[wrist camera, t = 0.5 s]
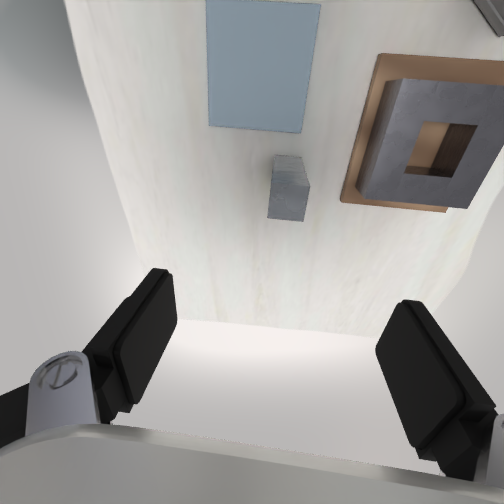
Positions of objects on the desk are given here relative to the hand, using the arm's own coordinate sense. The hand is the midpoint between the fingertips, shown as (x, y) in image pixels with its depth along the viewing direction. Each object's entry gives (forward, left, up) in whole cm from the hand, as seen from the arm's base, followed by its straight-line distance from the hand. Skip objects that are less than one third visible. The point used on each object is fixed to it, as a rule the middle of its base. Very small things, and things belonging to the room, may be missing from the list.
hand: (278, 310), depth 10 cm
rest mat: (-10, -4, -22) cm, 25 cm away
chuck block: (-5, +13, -23) cm, 27 cm away
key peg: (-1, 0, -23) cm, 23 cm away
